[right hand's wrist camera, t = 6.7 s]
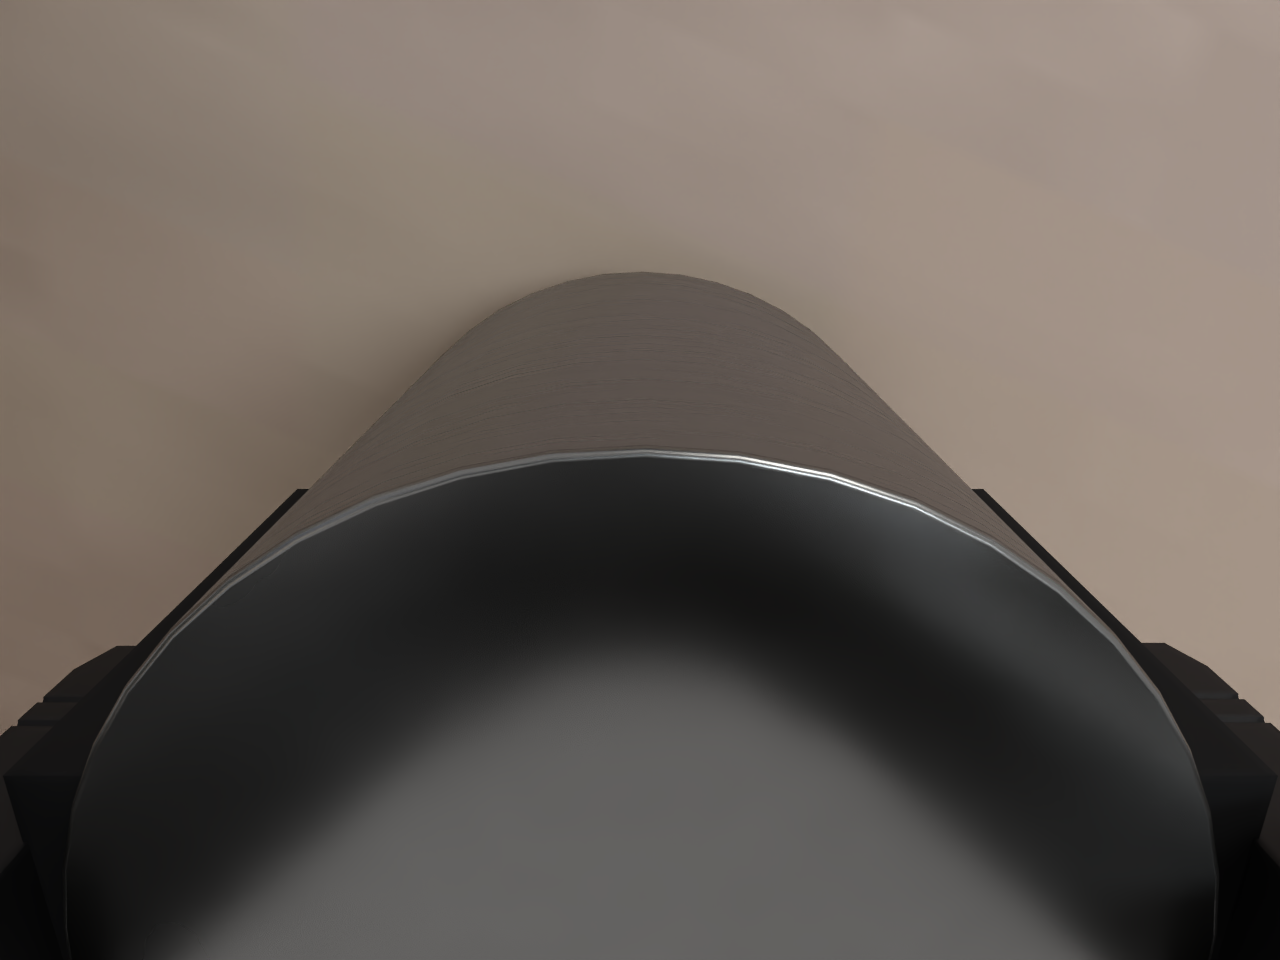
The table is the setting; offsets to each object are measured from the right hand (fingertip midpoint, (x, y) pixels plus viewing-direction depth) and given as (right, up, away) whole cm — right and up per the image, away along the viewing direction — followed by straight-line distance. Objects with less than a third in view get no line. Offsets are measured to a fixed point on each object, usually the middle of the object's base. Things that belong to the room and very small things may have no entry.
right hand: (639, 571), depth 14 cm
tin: (0, 0, +1) cm, 1 cm away
